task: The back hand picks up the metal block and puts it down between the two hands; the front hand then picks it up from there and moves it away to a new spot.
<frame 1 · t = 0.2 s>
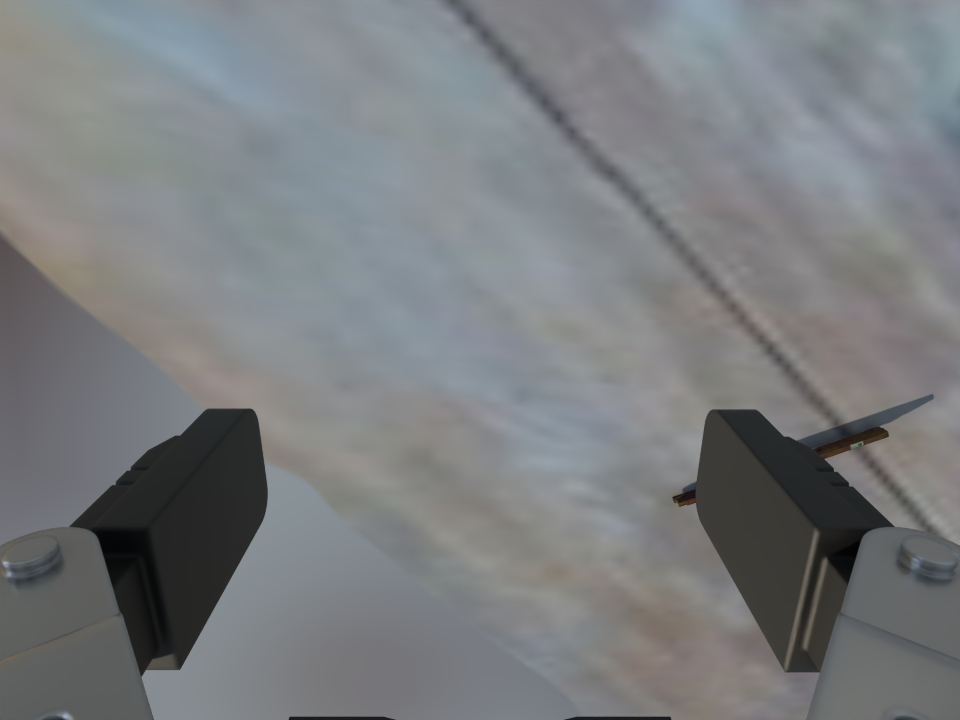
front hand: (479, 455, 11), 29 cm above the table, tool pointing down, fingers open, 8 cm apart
brown thin stick: (772, 463, 44), on the table
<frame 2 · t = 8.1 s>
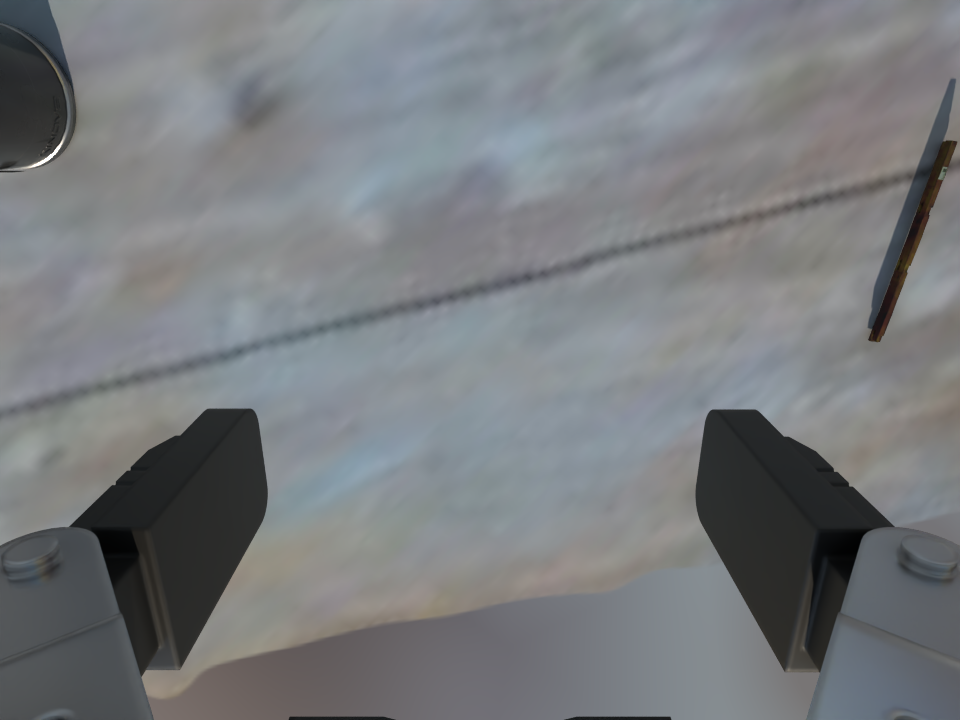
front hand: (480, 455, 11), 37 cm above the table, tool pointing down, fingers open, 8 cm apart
brown thin stick: (904, 245, 47), on the table
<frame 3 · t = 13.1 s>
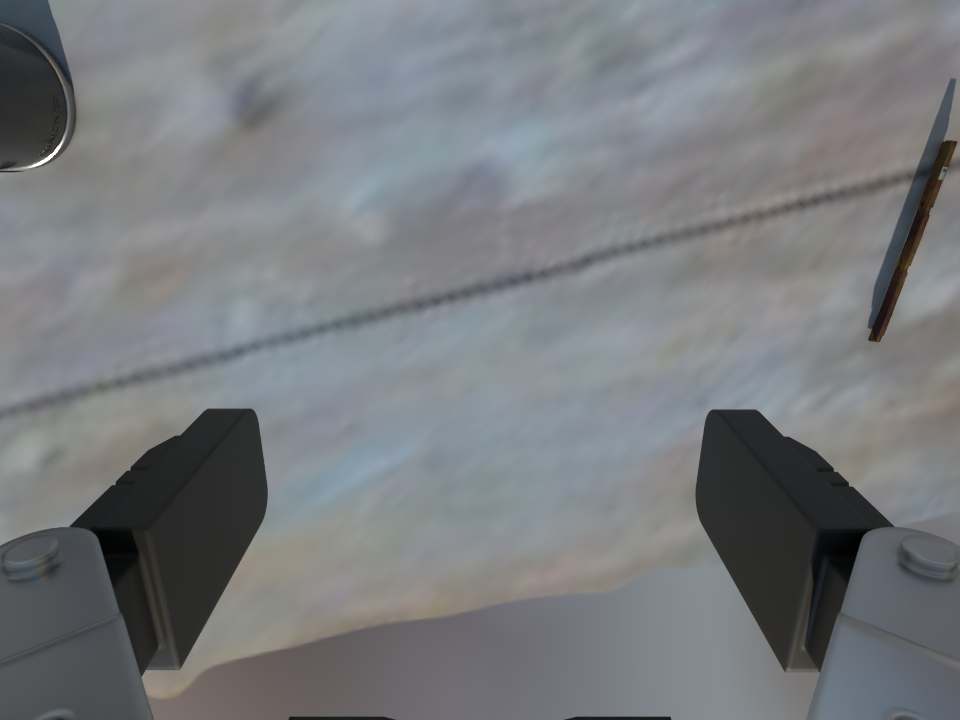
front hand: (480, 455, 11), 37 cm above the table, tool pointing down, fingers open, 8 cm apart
brown thin stick: (904, 245, 47), on the table
when the back hand's fingers open (1 cm above the table, at t = 18.6 s): block drops 1 cm, on the table.
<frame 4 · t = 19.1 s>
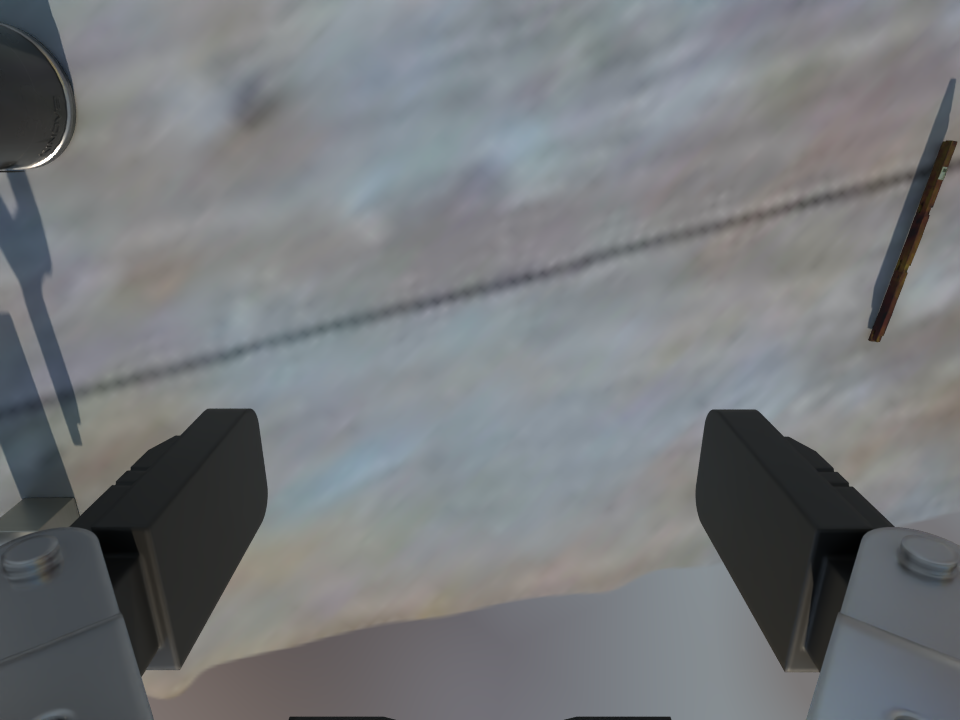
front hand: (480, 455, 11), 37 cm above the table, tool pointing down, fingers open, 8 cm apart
block: (56, 520, 55), on the table
brown thin stick: (904, 245, 47), on the table
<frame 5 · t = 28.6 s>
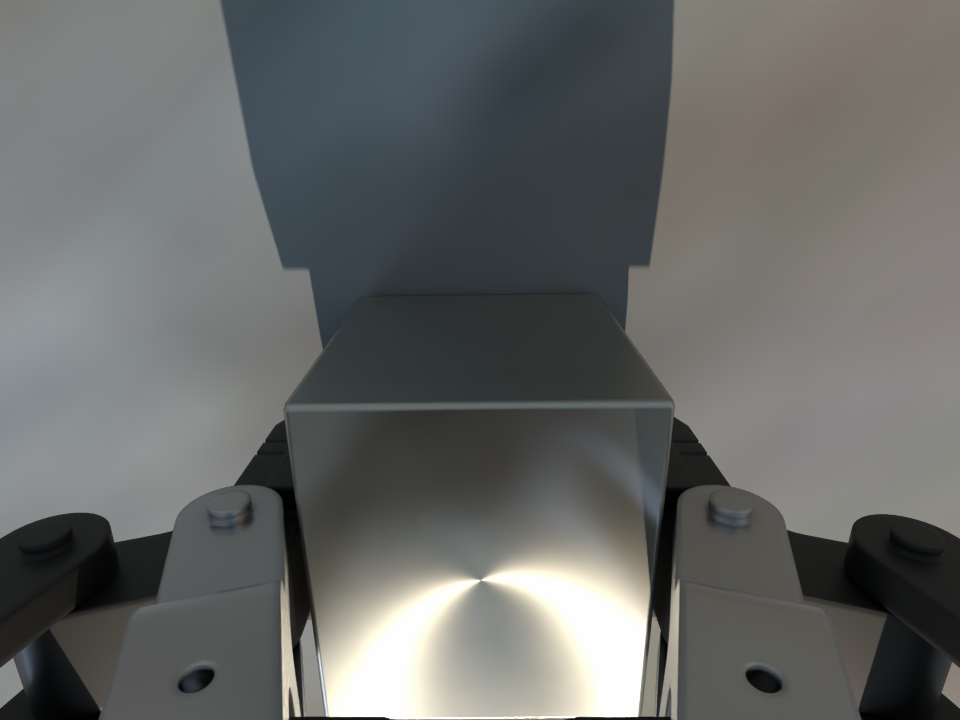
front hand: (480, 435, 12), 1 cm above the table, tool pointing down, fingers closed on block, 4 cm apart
block: (480, 412, 12), on the table, touching front hand
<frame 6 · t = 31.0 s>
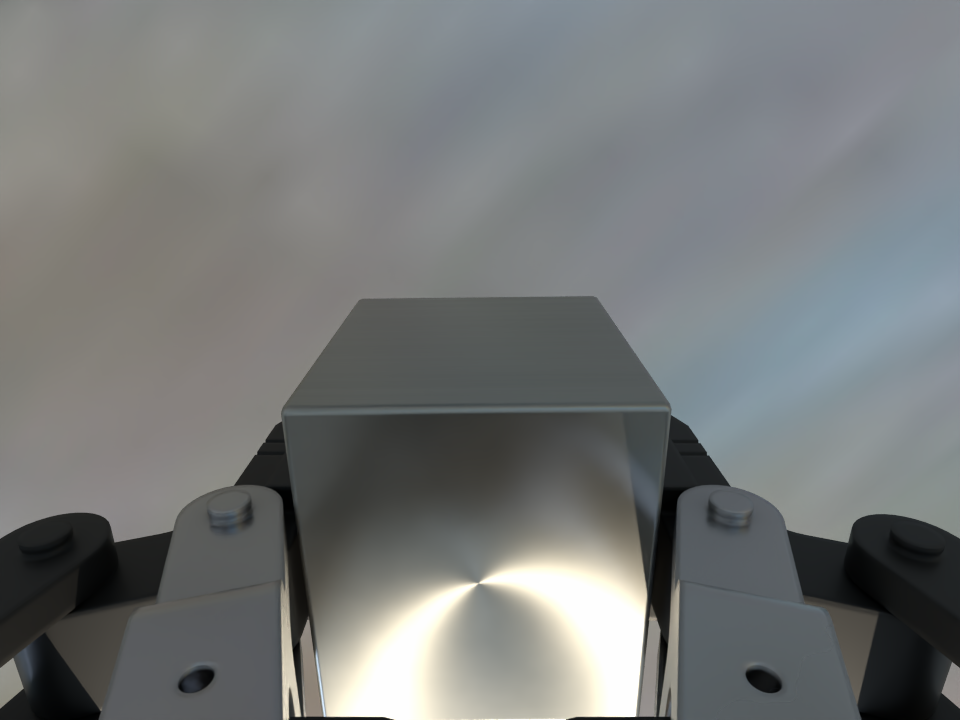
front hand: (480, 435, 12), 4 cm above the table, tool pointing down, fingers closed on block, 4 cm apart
block: (479, 414, 12), point 3 cm above the table, touching front hand
when the front hand's fingers open (1 cm above the table, at t = 33.8 s): block stays where it is, on the table.
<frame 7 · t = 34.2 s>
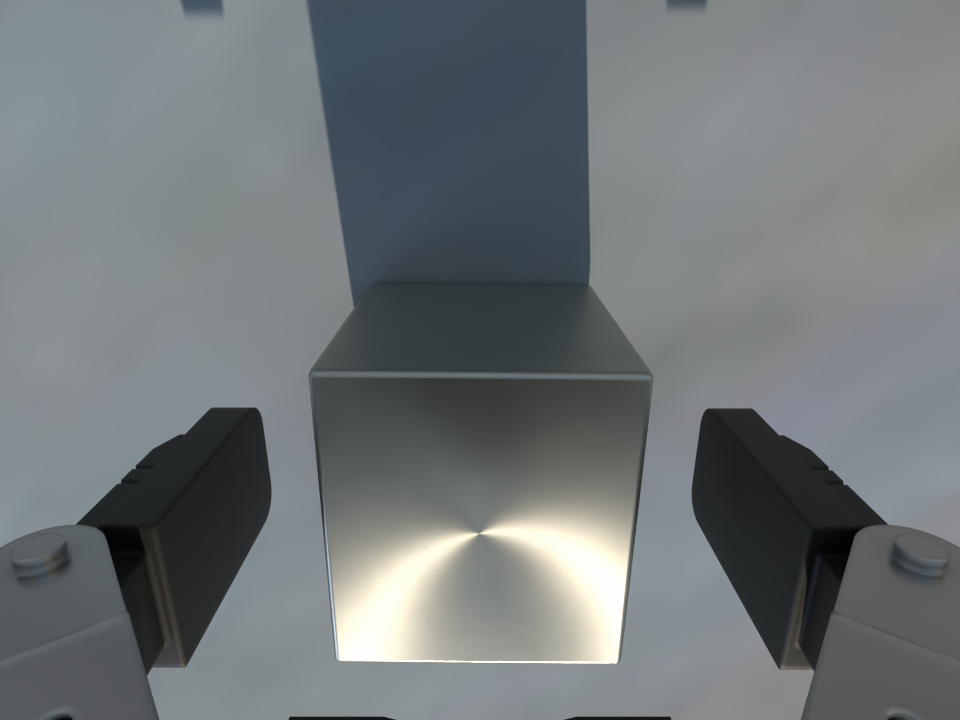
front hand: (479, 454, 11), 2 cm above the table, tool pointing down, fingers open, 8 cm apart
block: (479, 394, 13), on the table
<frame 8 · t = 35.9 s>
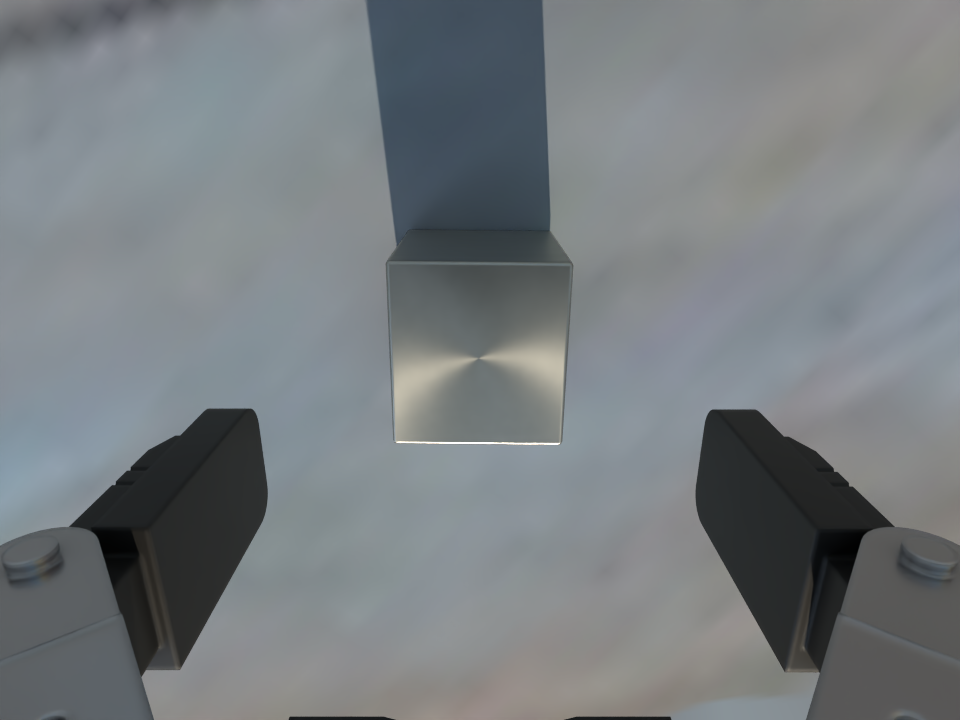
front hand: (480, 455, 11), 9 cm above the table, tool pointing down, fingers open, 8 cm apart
block: (478, 306, 20), on the table
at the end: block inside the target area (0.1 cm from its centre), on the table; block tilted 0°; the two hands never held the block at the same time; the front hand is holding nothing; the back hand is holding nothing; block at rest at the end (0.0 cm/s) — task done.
